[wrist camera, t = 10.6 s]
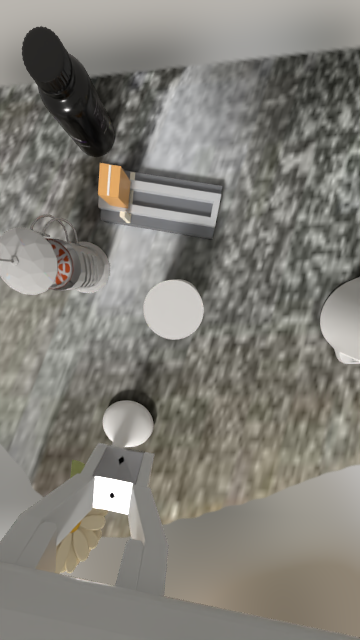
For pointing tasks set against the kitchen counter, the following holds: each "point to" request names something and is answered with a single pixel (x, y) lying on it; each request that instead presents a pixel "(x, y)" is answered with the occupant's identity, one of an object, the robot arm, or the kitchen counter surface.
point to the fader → (114, 185)
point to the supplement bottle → (68, 91)
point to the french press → (50, 262)
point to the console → (167, 205)
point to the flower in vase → (122, 428)
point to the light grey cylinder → (173, 309)
